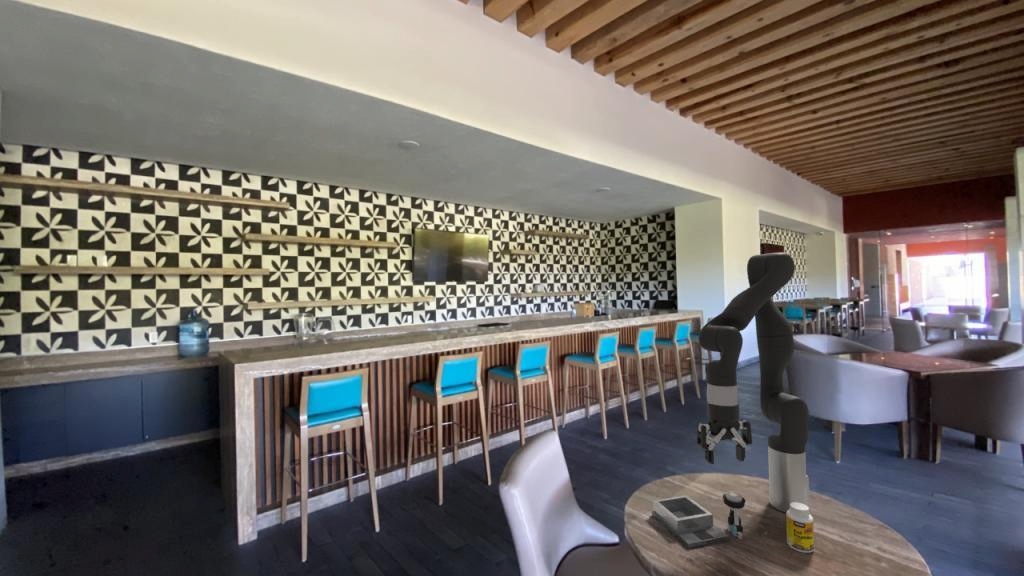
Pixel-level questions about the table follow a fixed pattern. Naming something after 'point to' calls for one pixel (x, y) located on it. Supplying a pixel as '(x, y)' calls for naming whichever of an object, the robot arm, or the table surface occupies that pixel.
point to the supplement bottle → (800, 528)
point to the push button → (734, 512)
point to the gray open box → (687, 521)
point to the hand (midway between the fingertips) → (725, 461)
